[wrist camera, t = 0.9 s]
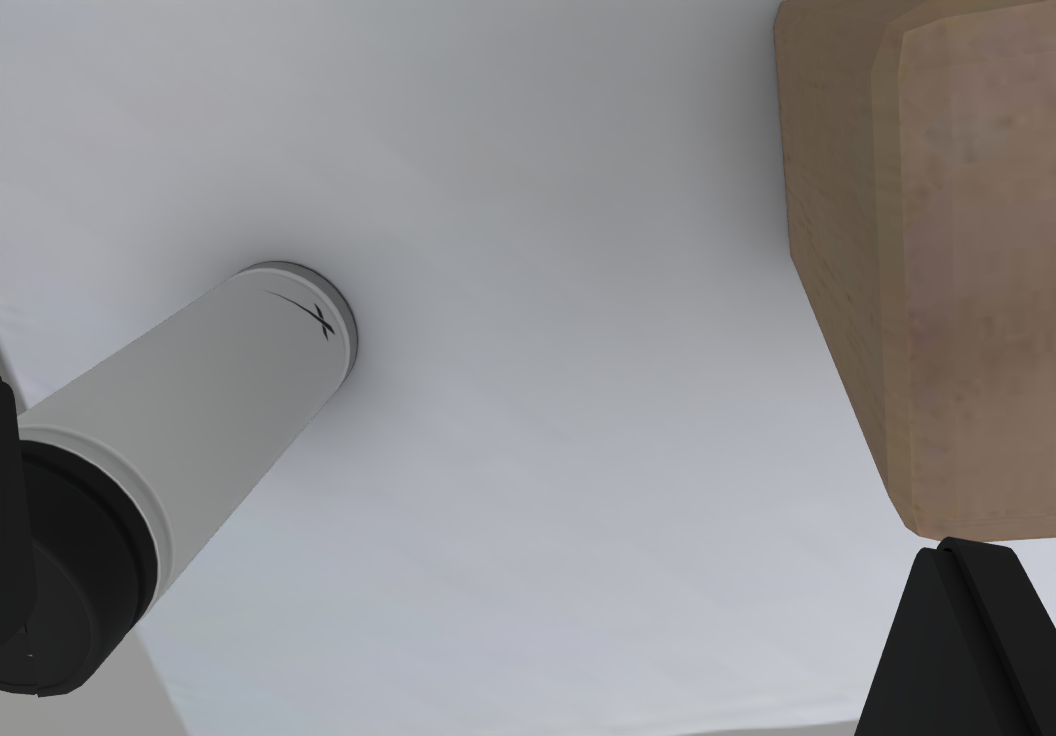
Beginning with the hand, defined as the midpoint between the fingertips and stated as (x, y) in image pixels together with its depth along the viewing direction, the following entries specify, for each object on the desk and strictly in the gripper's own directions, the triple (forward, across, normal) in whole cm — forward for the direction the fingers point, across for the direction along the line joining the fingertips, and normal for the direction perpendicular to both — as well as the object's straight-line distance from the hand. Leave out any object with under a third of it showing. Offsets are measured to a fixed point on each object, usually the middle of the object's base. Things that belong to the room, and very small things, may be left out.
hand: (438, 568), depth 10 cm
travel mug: (+28, +12, +10) cm, 32 cm away
